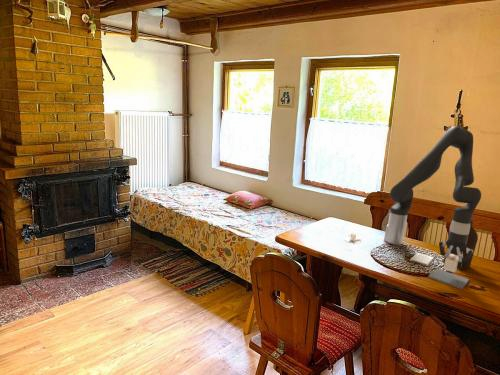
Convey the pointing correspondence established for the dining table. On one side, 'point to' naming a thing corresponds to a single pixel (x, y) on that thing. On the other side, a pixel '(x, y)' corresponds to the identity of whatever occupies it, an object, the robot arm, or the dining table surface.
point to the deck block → (451, 263)
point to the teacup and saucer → (353, 238)
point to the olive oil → (469, 246)
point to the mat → (449, 278)
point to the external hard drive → (422, 259)
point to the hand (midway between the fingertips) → (451, 266)
